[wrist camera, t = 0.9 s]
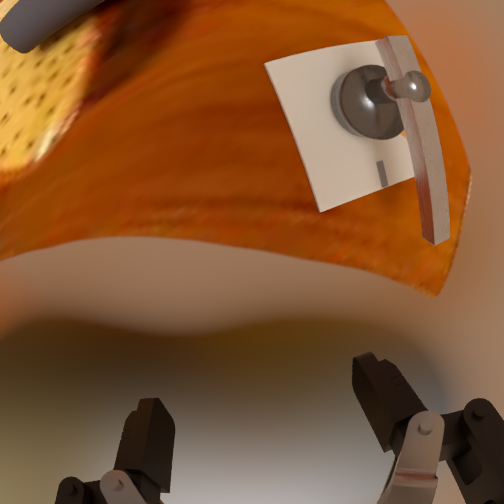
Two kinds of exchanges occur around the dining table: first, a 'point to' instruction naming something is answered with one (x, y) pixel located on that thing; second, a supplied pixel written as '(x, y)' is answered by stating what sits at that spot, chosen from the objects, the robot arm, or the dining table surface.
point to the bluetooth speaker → (39, 20)
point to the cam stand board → (335, 126)
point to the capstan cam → (399, 122)
